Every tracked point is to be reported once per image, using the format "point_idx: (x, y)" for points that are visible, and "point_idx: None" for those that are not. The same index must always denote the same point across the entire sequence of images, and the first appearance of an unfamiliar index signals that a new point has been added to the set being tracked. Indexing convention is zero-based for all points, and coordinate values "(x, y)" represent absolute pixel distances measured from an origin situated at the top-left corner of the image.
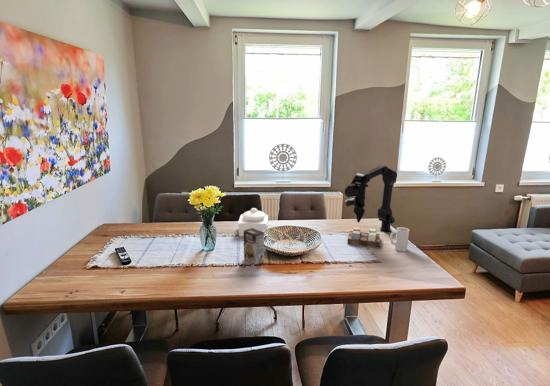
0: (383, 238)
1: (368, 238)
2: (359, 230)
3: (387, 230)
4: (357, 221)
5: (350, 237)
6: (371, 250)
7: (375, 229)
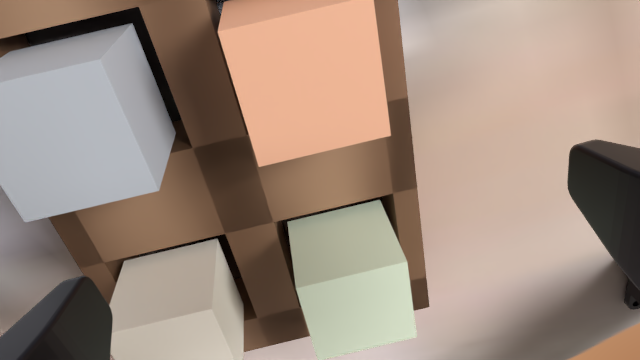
0: (436, 292)
1: (116, 292)
2: (256, 148)
3: (635, 297)
4: (45, 302)
5: (39, 7)
6: (17, 293)
7: (397, 338)
